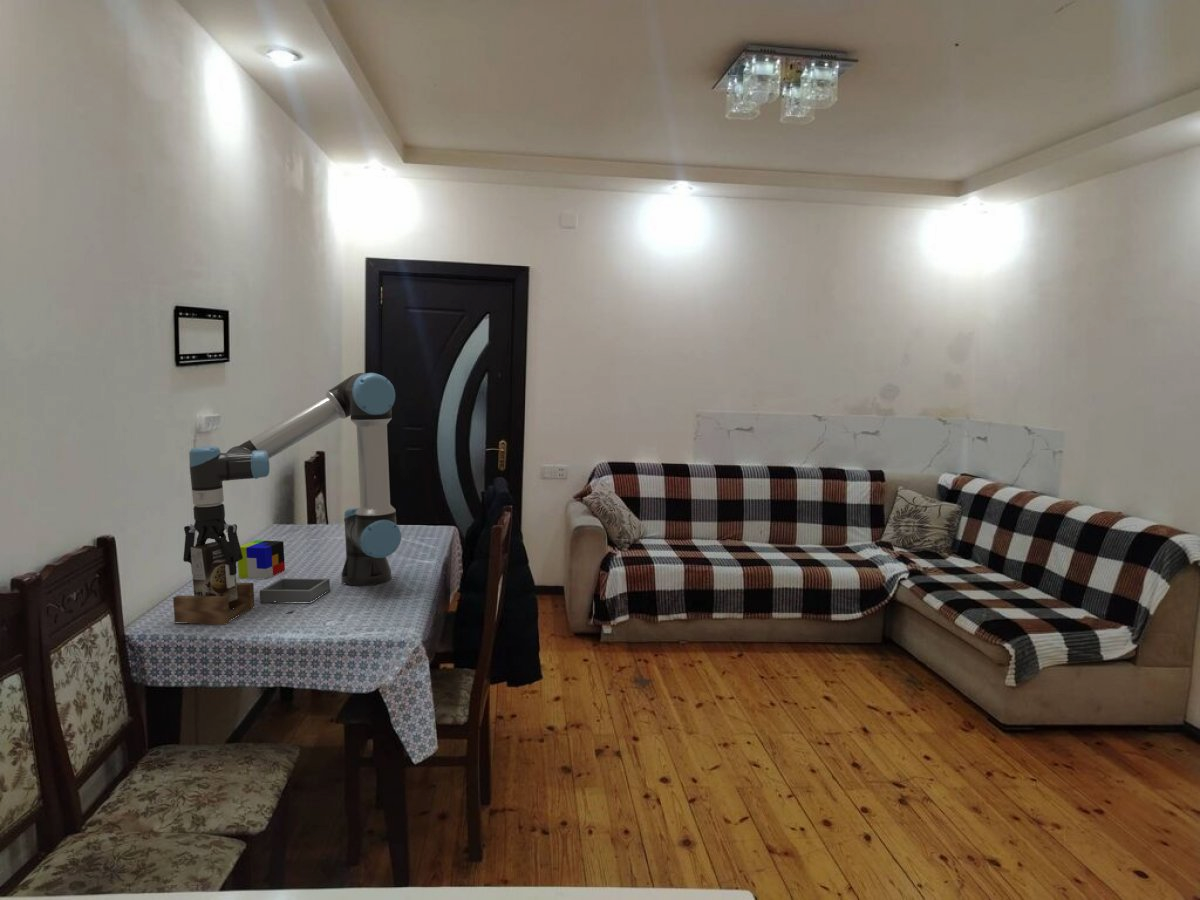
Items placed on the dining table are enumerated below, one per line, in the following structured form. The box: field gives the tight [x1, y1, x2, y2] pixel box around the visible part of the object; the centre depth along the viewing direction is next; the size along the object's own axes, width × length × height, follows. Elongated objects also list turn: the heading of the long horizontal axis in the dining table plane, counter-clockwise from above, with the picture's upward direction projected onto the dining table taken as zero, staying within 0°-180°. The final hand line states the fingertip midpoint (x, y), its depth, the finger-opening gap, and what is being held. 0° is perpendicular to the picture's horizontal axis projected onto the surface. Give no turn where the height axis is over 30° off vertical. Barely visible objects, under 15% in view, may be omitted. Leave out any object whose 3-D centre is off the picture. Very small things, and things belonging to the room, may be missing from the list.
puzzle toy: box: [237, 539, 286, 580], centre depth 263 cm, size 10×10×10 cm
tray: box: [259, 577, 331, 603], centre depth 237 cm, size 15×13×4 cm
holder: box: [172, 582, 256, 625], centre depth 220 cm, size 14×15×7 cm
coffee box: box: [190, 540, 238, 602], centre depth 220 cm, size 9×6×16 cm
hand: (215, 586), depth 220 cm, fingers closed on coffee box, 8 cm apart
